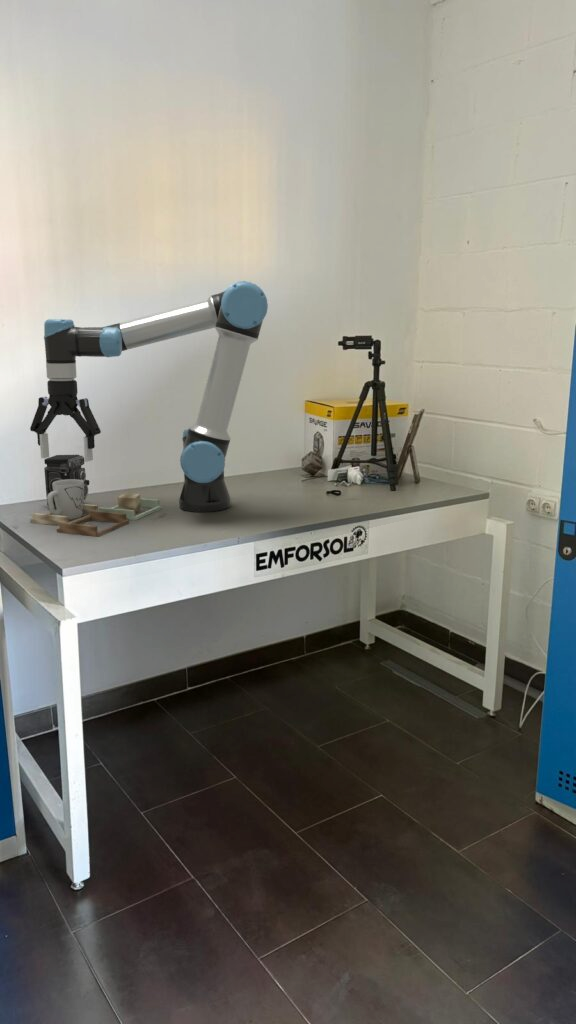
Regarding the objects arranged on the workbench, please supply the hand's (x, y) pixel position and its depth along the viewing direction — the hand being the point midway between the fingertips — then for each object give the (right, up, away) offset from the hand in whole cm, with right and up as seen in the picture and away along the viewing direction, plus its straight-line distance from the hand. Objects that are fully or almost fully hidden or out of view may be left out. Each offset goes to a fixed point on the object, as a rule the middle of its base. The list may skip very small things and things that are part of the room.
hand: (66, 459), depth 208 cm
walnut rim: (+8, -18, -3) cm, 20 cm away
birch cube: (+14, -14, +13) cm, 24 cm away
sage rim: (+14, -14, +13) cm, 24 cm away
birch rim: (-2, -16, +7) cm, 17 cm away
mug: (-2, -16, +7) cm, 18 cm away
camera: (-5, -13, +21) cm, 25 cm away
